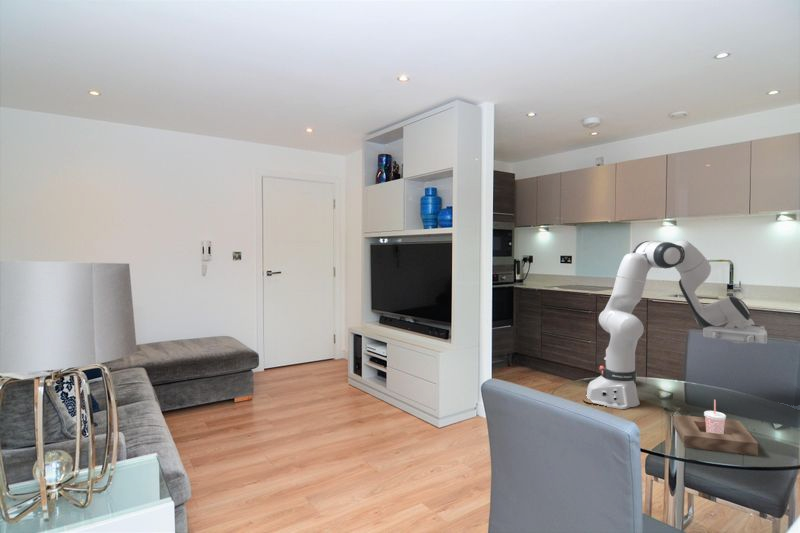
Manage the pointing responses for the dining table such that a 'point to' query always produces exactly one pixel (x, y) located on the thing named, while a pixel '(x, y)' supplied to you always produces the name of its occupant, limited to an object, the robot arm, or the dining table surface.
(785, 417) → the dining table surface
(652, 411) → the dining table surface
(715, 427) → the beverage cup
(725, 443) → the walnut tray
